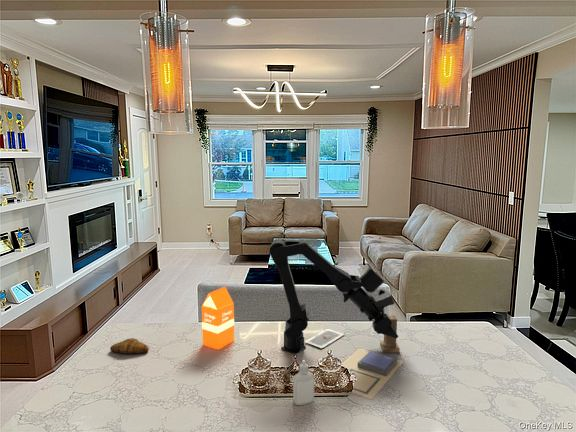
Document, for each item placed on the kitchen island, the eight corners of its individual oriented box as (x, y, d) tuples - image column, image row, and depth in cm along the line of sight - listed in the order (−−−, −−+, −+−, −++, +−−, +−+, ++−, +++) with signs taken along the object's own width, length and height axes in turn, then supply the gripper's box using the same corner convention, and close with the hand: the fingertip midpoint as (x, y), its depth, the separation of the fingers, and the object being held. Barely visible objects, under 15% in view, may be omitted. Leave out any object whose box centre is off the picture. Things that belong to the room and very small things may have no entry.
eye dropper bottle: (313, 406, 108) (313, 365, 106) (292, 405, 108) (292, 363, 107) (314, 397, 112) (314, 357, 110) (294, 396, 113) (294, 356, 111)
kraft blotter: (321, 381, 120) (321, 380, 120) (359, 348, 141) (359, 348, 141) (371, 400, 111) (371, 399, 111) (403, 361, 132) (403, 361, 132)
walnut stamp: (383, 353, 138) (384, 320, 136) (380, 346, 143) (381, 314, 141) (399, 353, 137) (400, 320, 136) (395, 346, 143) (396, 314, 141)
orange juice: (234, 340, 147) (233, 288, 145) (218, 349, 140) (217, 295, 137) (218, 335, 151) (217, 284, 149) (202, 344, 144) (200, 291, 141)
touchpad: (344, 337, 151) (344, 331, 151) (321, 351, 140) (321, 345, 140) (327, 331, 156) (327, 326, 156) (304, 344, 145) (304, 338, 145)
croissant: (152, 348, 141) (152, 334, 141) (144, 357, 135) (143, 343, 134) (115, 346, 142) (115, 333, 142) (106, 356, 136) (105, 342, 135)
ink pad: (357, 367, 128) (357, 361, 128) (369, 355, 136) (370, 350, 136) (386, 376, 123) (386, 371, 122) (397, 363, 130) (397, 358, 130)
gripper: (386, 294, 128) (419, 327, 129) (375, 277, 146) (404, 306, 148) (360, 317, 129) (393, 350, 130) (353, 297, 148) (382, 326, 149)
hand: (394, 331), depth 139 cm, fingers open, 9 cm apart
